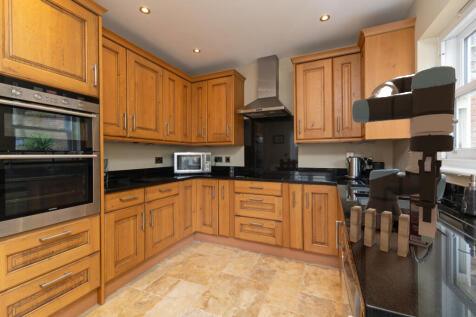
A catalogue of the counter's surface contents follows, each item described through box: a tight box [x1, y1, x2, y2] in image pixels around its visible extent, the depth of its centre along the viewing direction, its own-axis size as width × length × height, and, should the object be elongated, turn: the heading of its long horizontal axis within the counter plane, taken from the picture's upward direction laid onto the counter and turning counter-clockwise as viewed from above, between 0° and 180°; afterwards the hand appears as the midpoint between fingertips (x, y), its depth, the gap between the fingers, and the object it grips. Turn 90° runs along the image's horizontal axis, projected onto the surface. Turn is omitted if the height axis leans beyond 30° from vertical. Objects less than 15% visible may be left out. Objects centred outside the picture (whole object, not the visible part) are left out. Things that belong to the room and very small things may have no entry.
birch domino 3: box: [379, 211, 393, 253], centre depth 61 cm, size 5×2×11 cm, turn 133°
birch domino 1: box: [349, 205, 362, 243], centre depth 68 cm, size 5×2×11 cm, turn 133°
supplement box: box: [408, 194, 434, 249], centre depth 67 cm, size 9×5×16 cm, turn 126°
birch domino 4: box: [397, 213, 410, 258], centre depth 58 cm, size 5×2×11 cm, turn 133°
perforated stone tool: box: [349, 210, 395, 230], centre depth 80 cm, size 15×5×7 cm, turn 58°
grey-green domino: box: [421, 235, 434, 244], centre depth 48 cm, size 5×2×11 cm, turn 133°
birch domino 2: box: [363, 208, 376, 248], centre depth 64 cm, size 5×2×11 cm, turn 133°
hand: (427, 232), depth 48 cm, fingers closed on grey-green domino, 5 cm apart
